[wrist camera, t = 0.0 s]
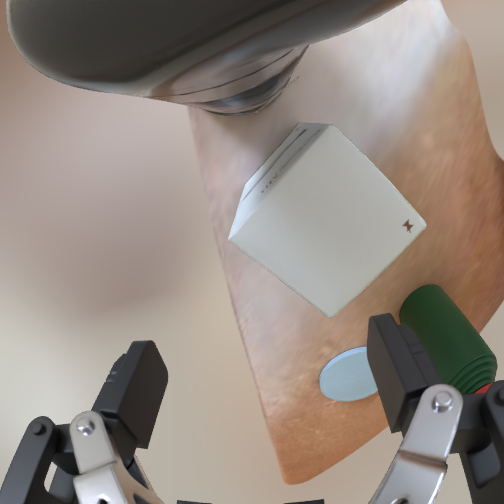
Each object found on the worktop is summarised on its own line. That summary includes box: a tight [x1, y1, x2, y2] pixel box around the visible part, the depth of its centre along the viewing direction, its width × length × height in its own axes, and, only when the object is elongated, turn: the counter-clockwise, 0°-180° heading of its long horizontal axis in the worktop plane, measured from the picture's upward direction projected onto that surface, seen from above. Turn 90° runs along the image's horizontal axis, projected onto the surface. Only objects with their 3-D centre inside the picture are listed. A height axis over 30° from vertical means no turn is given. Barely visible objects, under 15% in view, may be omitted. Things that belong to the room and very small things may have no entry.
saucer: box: [319, 347, 378, 401], centre depth 34 cm, size 10×10×1 cm
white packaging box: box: [228, 123, 427, 318], centre depth 19 cm, size 7×7×13 cm
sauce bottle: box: [400, 285, 497, 394], centre depth 22 cm, size 6×6×17 cm
